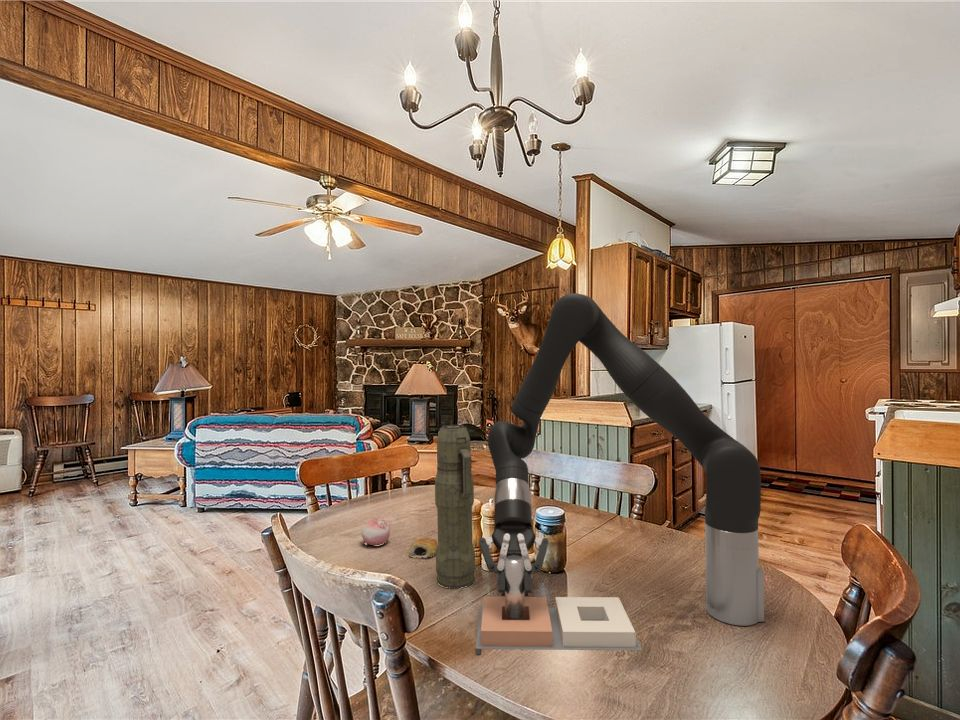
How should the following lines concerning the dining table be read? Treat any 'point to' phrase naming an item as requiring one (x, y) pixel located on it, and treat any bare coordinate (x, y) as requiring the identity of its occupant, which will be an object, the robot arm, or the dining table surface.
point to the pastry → (423, 547)
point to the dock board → (557, 625)
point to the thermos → (454, 508)
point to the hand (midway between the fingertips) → (515, 594)
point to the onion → (376, 531)
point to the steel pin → (514, 587)
